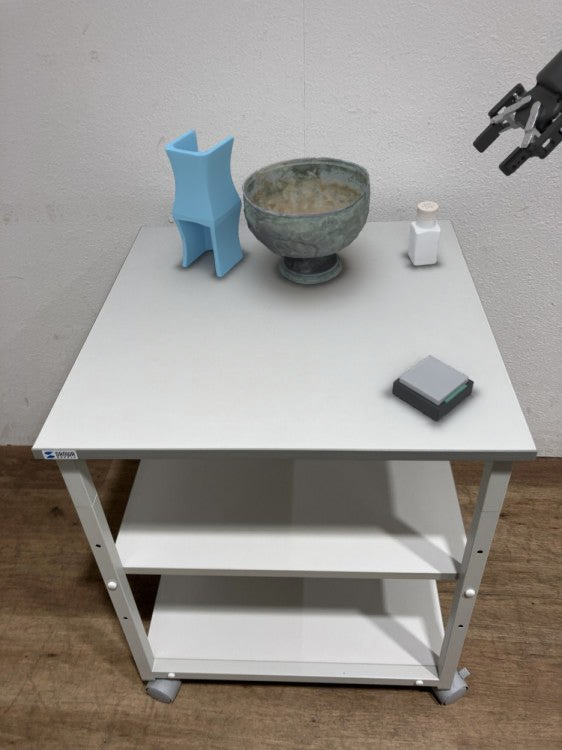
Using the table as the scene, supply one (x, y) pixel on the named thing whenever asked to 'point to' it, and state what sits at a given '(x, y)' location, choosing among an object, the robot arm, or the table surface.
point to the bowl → (307, 213)
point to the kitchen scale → (433, 387)
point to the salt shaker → (424, 235)
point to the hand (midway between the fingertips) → (489, 160)
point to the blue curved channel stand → (205, 201)
